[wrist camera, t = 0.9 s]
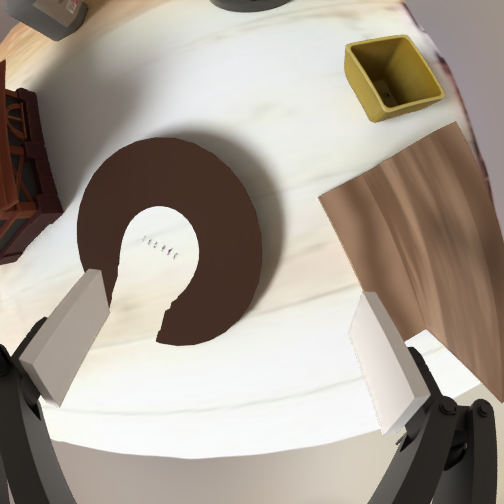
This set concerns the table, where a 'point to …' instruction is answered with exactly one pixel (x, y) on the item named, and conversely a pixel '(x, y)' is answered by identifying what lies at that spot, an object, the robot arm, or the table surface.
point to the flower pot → (390, 77)
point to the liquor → (49, 15)
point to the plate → (200, 217)
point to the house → (23, 173)
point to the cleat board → (430, 248)
